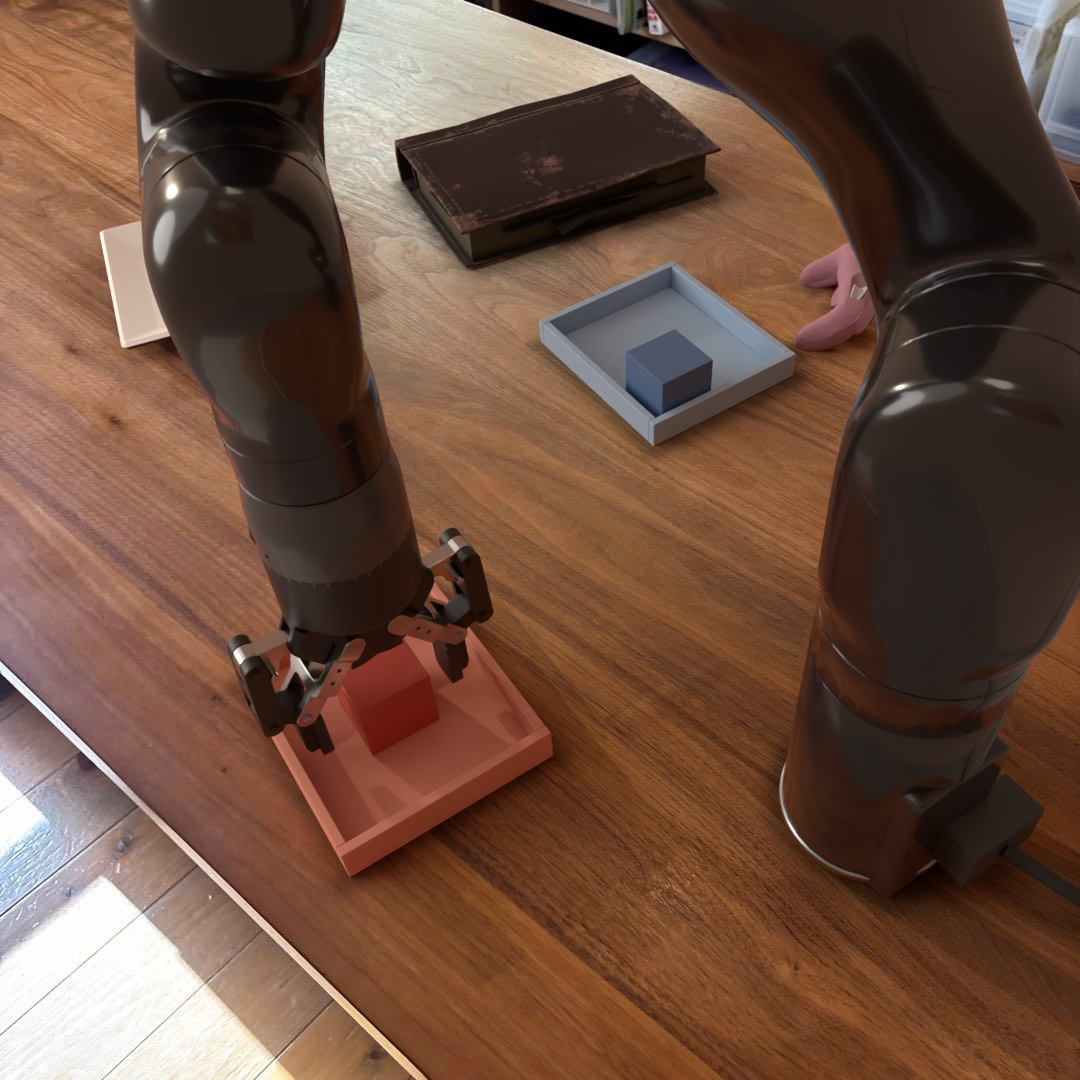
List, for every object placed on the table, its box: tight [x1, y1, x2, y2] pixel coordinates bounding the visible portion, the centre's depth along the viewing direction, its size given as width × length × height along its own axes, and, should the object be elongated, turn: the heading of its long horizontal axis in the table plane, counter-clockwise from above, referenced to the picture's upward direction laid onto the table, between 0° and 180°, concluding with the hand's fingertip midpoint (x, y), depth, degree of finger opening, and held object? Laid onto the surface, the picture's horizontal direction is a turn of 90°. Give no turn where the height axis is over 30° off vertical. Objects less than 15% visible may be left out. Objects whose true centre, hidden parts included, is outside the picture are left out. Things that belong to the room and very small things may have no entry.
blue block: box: [626, 329, 713, 418], centre depth 81 cm, size 4×4×4 cm
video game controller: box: [794, 241, 876, 352], centre depth 87 cm, size 10×5×7 cm, turn 168°
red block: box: [337, 638, 440, 756], centre depth 65 cm, size 4×4×4 cm
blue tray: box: [538, 260, 797, 447], centre depth 86 cm, size 15×13×2 cm
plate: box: [99, 220, 172, 350], centre depth 98 cm, size 19×19×2 cm
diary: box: [393, 73, 722, 269], centre depth 103 cm, size 19×25×5 cm
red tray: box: [271, 581, 554, 878], centre depth 66 cm, size 15×13×2 cm
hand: (388, 705), depth 65 cm, fingers open, 8 cm apart
